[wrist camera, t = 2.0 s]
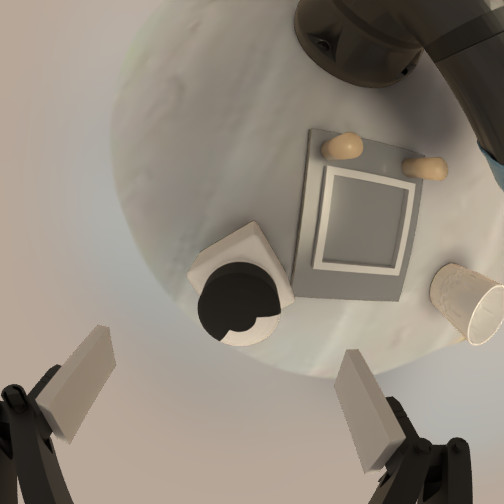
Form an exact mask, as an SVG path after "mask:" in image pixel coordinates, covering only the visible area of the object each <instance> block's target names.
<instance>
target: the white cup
mask: <svg viewBox="0 0 504 504" xmlns="http://www.w3.org/2000/svg"><path fill="white" fill-rule="evenodd" d="M430 298H431V302H432V304H433V305H434V306H436V307H437V308H438V309H439V310H440V312H441V313H442V314H443V316H445V318H446V319H447V320H448V321H449V322H450V323H451V324H452V325H453V326H454V327H455V328H456V329H457V330H458V331H459V332H460V333H461V334H462V335H463V336H464V337H465V338H466V340H467V341H468V342H470V344H472V345H474V346H477V345H481V344H483V343H485V342H486V341H488V340H489V339H490V338H491V337H492V336H493V335H494V333H495V332H496V331H497V330H498V328H499V327H500V325H501V323H502V321H503V319H504V285H502V284H500V283H498V282H496V281H494V280H492V279H490V278H488V277H486V276H484V275H482V274H479V273H477V272H474V271H472V270H470V269H467V268H464V267H462V266H460V265H458V264H452V263H450V264H448V265H446V266H444V267H442V268H441V269H440V270H439V271H438V273H437V274H436V275H435V277H434V279H433V281H432V283H431V288H430Z"/></svg>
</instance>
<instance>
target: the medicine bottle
mask: <svg viewBox="0 0 504 504" xmlns="http://www.w3.org/2000/svg"><path fill="white" fill-rule="evenodd" d="M187 278H188V280H189V281H190V283H191V284H192V285H193V287H194V288H195V290H196V291H197V293H198V294H199V295H200V298H199V301H198V315H199V319H200V322H201V324H202V325H203V327H204V329H205V330H206V331H207V332H208V333H209V334H210V335H211V336H212V337H214V338H215V339H217V340H218V341H220V342H223V343H225V344H229V345H234V346H247V345H252V344H255V343H258V342H260V341H262V340H264V339H265V338H267V337H268V336H269V335H270V334H271V333H272V332H273V331H274V330H275V328H276V327H277V325H278V323H279V320H280V315H281V309H282V308H284V307H286V306H288V305H290V304H292V303H293V302H294V301H295V297H294V294H293V291H292V289H291V286H290V283H289V280H288V277H287V274H286V272H285V270H284V268H283V267H282V265H281V263H280V261H279V260H278V258H277V256H276V255H275V253H274V251H273V249H272V248H271V246H270V244H269V243H268V241H267V239H266V238H265V236H264V234H263V232H262V231H261V229H260V227H259V226H258V224H257V223H256V222H255V221H252V222H250V223H249V224H247V225H245V226H244V227H242V228H240V229H238V230H237V231H235V232H233V233H232V234H230V235H228V236H226V237H225V238H223V239H221V240H220V241H218V242H216V243H215V244H213V245H211V246H210V247H208V248H206V249H204V250H203V251H201V252H200V253H199V255H198V256H197V258H196V259H195V261H194V263H193V264H192V266H191V267H190V269H189V271H188V272H187Z"/></svg>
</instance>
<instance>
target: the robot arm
mask: <svg viewBox="0 0 504 504" xmlns="http://www.w3.org/2000/svg"><path fill="white" fill-rule="evenodd" d="M294 25H295V31H296V34H297V37H298V39H299V42H300V43H301V45H302V47H303V48H304V50H305V51H306V52H307V54H308V55H309V56H310V57H311V58H312V59H313V60H314V61H315V62H316V63H317V64H318V65H319V66H321V67H322V68H323V69H324V70H326V71H327V72H329V73H330V74H332V75H334V76H335V77H337V78H339V79H341V80H344V81H346V82H348V83H351V84H354V85H358V86H363V87H370V88H379V87H386V86H390V85H392V84H394V83H396V82H398V81H400V80H402V79H404V78H405V77H406V76H408V75H409V74H410V73H411V72H412V71H413V69H414V68H415V66H416V64H417V62H418V60H419V59H420V57H421V55H422V53H423V51H424V49H425V51H426V52H427V53H428V55H429V56H430V57H431V59H432V60H433V62H434V63H435V65H436V66H437V68H438V69H439V71H440V72H441V74H442V75H443V77H444V78H445V80H446V81H447V83H448V85H449V86H450V88H451V89H452V91H453V93H454V94H455V96H456V98H457V100H458V101H459V103H460V105H461V107H462V109H463V111H464V112H465V114H466V116H467V118H468V120H469V122H470V124H471V126H472V128H473V130H474V132H475V134H476V137H477V143H478V146H479V148H480V150H481V152H482V153H483V154H484V156H485V157H486V159H487V161H488V163H489V166H490V168H491V170H492V173H493V175H494V177H495V180H496V182H497V183H498V185H499V186H500V188H501V189H502V190H503V192H504V0H300V2H299V4H298V7H297V10H296V13H295V19H294ZM115 366H116V362H115V358H114V353H113V348H112V342H111V336H110V330H109V327H105V326H100V325H97V326H96V327H95V328H94V330H93V331H92V332H91V333H90V334H89V335H88V337H86V339H85V340H84V341H83V342H82V343H81V344H80V345H79V347H78V348H77V349H76V350H75V351H74V352H73V354H72V355H71V356H70V357H69V358H68V359H67V361H66V362H65V363H64V364H63V365H62V366H60V365H55V366H53V367H52V368H50V369H49V370H48V371H47V372H46V373H45V375H44V376H43V377H42V378H41V379H40V381H39V382H38V383H37V384H36V385H35V387H34V388H33V389H32V390H31V391H30V393H29V394H28V395H26V393H25V391H24V389H23V388H22V387H21V386H20V385H17V384H12V385H8V386H7V387H5V388H4V389H3V391H2V393H1V396H2V398H3V400H4V401H0V504H18V497H17V476H18V480H19V484H20V488H21V492H22V495H23V499H24V502H25V504H74V503H73V501H72V499H71V496H70V494H69V491H68V489H67V486H66V484H65V481H64V478H63V475H62V472H61V469H60V466H59V463H58V460H57V457H56V453H55V450H54V446H53V443H52V439H51V437H50V435H51V433H52V432H53V433H54V434H55V436H56V438H57V439H59V440H61V441H63V442H66V443H68V444H70V443H71V441H72V440H73V438H74V436H75V434H76V432H77V430H78V429H79V427H80V425H81V423H82V422H83V420H84V418H85V416H86V415H87V413H88V411H89V409H90V408H91V406H92V404H93V402H94V401H95V399H96V397H97V396H98V394H99V392H100V391H101V389H102V387H103V386H104V384H105V382H106V381H107V379H108V378H109V376H110V374H111V372H112V371H113V369H114V368H115ZM334 387H335V390H336V393H337V395H338V398H339V401H340V404H341V407H342V409H343V412H344V415H345V418H346V421H347V424H348V427H349V429H350V432H351V435H352V438H353V441H354V444H355V447H356V450H357V453H358V456H359V459H360V462H361V465H362V468H363V471H364V474H365V475H366V474H371V473H375V472H379V471H380V470H381V469H382V468H383V467H384V466H385V467H386V469H387V471H386V473H385V474H384V475H383V476H382V477H381V478H380V479H379V481H378V482H380V481H381V482H380V484H379V486H378V487H377V489H376V491H375V493H374V494H373V496H372V498H371V500H370V501H369V503H368V504H416V502H417V504H473V496H472V495H473V494H472V471H471V459H470V449H469V445H468V443H467V442H466V441H465V440H464V439H462V438H458V437H456V438H452V439H451V440H450V441H449V442H448V443H447V444H446V445H432V443H431V442H430V441H428V440H427V439H425V438H420V437H419V436H418V434H417V433H416V431H415V429H414V427H413V425H412V423H411V421H410V420H409V418H408V417H407V414H406V413H405V411H404V409H403V407H402V406H401V404H400V402H399V401H397V400H396V399H395V398H394V397H393V396H392V397H385V396H384V394H383V393H382V391H381V389H380V387H379V385H378V383H377V382H376V380H375V378H374V376H373V374H372V372H371V371H370V369H369V367H368V365H367V364H366V362H365V360H364V358H363V356H362V355H361V353H360V351H359V349H356V350H346V352H345V355H344V358H343V361H342V364H341V367H340V370H339V373H338V376H337V379H336V382H335V385H334ZM417 499H418V501H417Z"/></svg>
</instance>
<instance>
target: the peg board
mask: <svg viewBox="0 0 504 504" xmlns="http://www.w3.org/2000/svg"><path fill="white" fill-rule="evenodd" d="M447 174H448V166H447V163H446V162H445V160H444V159H442V158H439V157H436V158H425V155H422V154H419V153H415V152H412V151H409V150H405V149H402V148H398V147H395V146H391V145H387V144H384V143H380V142H376V141H372V140H367V139H363V138H360V137H359V136H358V135H357V134H355V133H352V132H347V133H344V134H340V133H335V132H330V131H324V130H319V129H313V128H312V129H310V130H309V141H308V152H307V162H306V171H305V180H304V189H303V198H302V206H301V214H300V222H299V230H298V237H297V245H296V252H295V259H294V266H293V272H292V279H291V285H290V286H291V289H292V291H293V294H294V297H309V298H326V299H344V300H367V301H398V302H399V298H400V295H401V291H402V288H403V284H404V280H405V276H406V272H407V268H408V264H409V260H410V255H411V251H412V246H413V241H414V236H415V231H416V225H417V219H418V213H419V207H420V200H421V192H422V184H423V179H431V180H444V179H445V178H446V177H447Z"/></svg>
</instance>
